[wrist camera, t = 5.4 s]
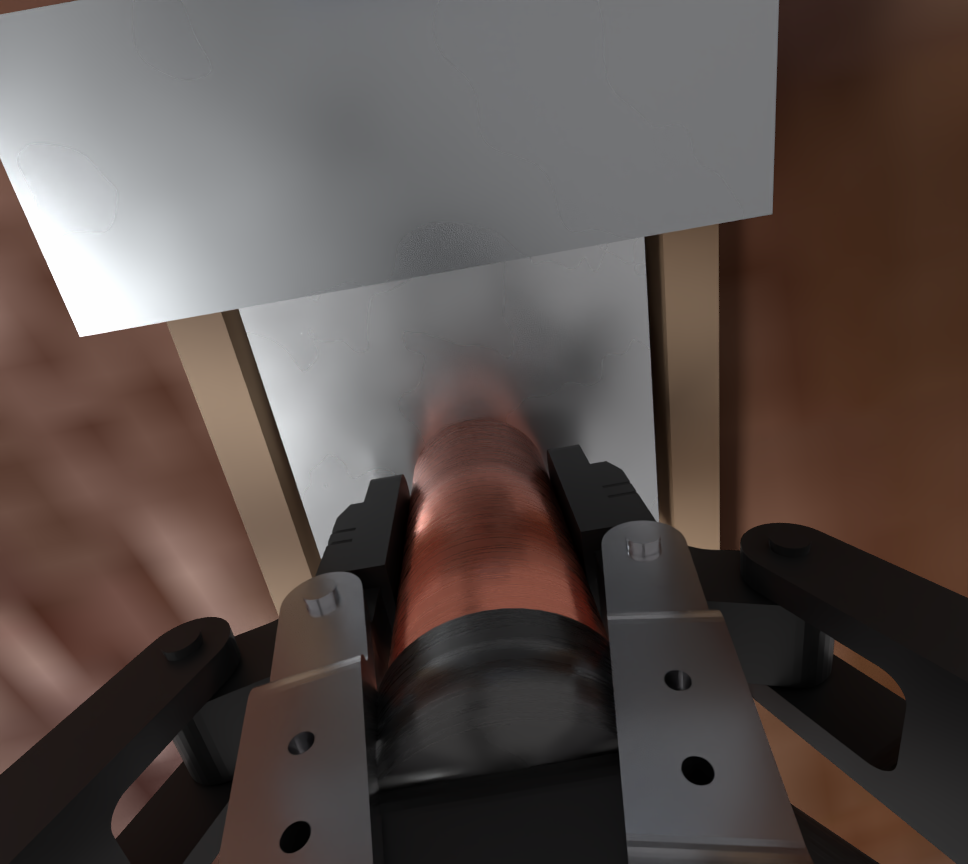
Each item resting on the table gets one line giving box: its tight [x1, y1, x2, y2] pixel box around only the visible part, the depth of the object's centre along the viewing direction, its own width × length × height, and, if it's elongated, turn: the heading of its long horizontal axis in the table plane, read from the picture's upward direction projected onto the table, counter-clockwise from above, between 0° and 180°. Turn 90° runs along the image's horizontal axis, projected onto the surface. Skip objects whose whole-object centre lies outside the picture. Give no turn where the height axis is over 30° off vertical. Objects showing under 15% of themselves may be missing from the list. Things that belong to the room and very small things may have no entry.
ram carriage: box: [0, 0, 779, 793], centre depth 9 cm, size 12×9×10 cm
